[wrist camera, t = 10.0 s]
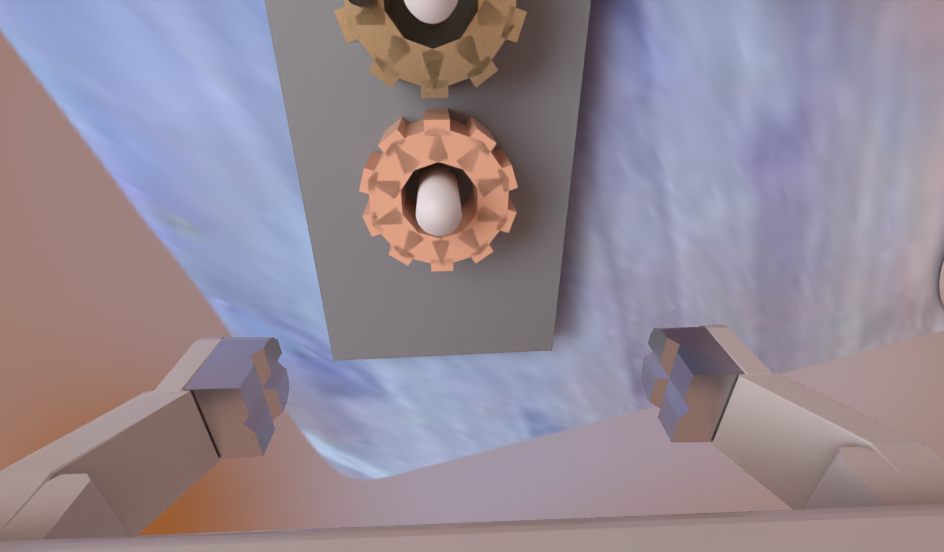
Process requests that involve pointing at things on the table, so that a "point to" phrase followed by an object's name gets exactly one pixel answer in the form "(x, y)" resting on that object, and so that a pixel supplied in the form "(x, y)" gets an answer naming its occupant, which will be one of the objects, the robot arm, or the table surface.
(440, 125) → the loose gear
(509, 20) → the gear
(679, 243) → the table surface
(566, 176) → the gear board
